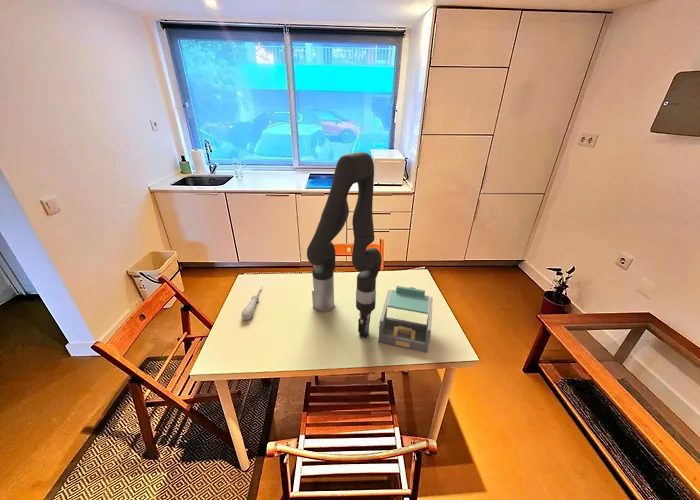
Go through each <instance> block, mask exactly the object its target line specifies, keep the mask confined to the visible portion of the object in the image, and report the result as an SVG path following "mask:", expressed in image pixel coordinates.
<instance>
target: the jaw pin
mask: <svg viewBox="0 0 700 500" xmlns="http://www.w3.org/2000/svg"><path fill="white" fill-rule="evenodd" d="M369 320H370V321H371V317H370V318H369ZM369 320H368V325H366V336H365V337H360V332H358V336H359V337H360V338H362V339H367V338H369V336H370V323H369ZM366 322H367V320H366Z"/></svg>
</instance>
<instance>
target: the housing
mask: <svg viewBox="0 0 700 500" xmlns="http://www.w3.org/2000/svg"><path fill="white" fill-rule="evenodd" d="M391 290H392V289H391ZM391 290H390V289H387V293H386V297H385V301H384V304H383V307H382V311H381V315H380V319H379V327H378V330H379V332H378V341H377V343H380V344H384V345H389V346H395V347H398V348H403V349H408V350H413V351H418V352H422V353H428V349H429V343H430V338H431V333H432V325H433V324H432V320H433V299H434V298H433V296H429V308H428V314H427V320H426V324H424V323H419V322H413V321H410V320H409V321H408V320H404V319H397V318H393V317H387V312H388V302H389V298H390V294H391Z"/></svg>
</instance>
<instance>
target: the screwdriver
mask: <svg viewBox="0 0 700 500" xmlns="http://www.w3.org/2000/svg"><path fill="white" fill-rule="evenodd" d="M262 288H263V286H260V288H259V290H258V292H257V294H256V295H252V296H251V298H250V301H249V302H248V304H247V305H246V306H245V307H244V308H243V310H242V311H241V319H242V320H244V321H249V319H252V317H253V315H254V313H255V308H256V306H257V304H258V302H259V301H260V298H259V294H260V293H261V290H262Z"/></svg>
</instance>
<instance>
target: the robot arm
mask: <svg viewBox="0 0 700 500" xmlns="http://www.w3.org/2000/svg"><path fill="white" fill-rule="evenodd" d="M373 160H374V159H373V158H372V156H371V155H370V154H369V153H368V152H365V151H360V152H358V151H357V152H350V153H345V154H343V155H341V156H340V157H339V158H338V160H337V161H336V162H337V163H336V166H335V169H334V174H333V179H332V183H331V186H330V190H329V193H328V195H327V196H328V197H327V200H326V202H325V205H324V208H323V209H322V212H321V216H320V220H319V222H318V225H317V227H316V229H315V231H314V232H315V233H314V235H313V237H312V239H311V241H310V242H309V244H308V246H307V249H306V257H307V260H308V262H309V263H310V264H311V265H313V266H314V267H313V268H312V270H311V271H312V273H311V274H312V285H313V286H312V287H313V289H312V290H311V298H312V308H314V309H315V310H316V311H318V312H321V313H323V312H329V311H331V310H333V309H334V308H335V282H334V281H335V280H334V276H335V275H334V273H335V270H336V257H337V256H336V248H335V245H334V244H333V242H332V241H333V240H334V239H335V238H336V237H337V236H338V235H339V234H340V232H341V231H342V230H343V228H344V226H345V224H346V223H347V220H348V218H349V214H350V208H349V203H348V200H347V199H348V195H349V192H350V190H351V187H353V185H354V184H357V189H358V194H357V199H356V204H355V207H354V211H353V215H352V230H353V239H354V240H353V247H352V253H351V262H352V263H351V264H352V266H353V268H354V269H355V271H357V272H359V273H358V274H357V277H356V289H355V290H356V291H355V306H356V307H355V308H356V309H357V310H358V311H359V318H358V325H357V326H358V327H357V328H358V329H357V332H358V333H359V332H360V336H359V337H360V338H361V337H365V336H366V325H368V320H369V318H370V320H369V324H370V323H371V315H372V312H373V311H374V310H375V308H376V305H377V304H376V303H377V292H376V291H377V290H376V288H377V277H378V274H379V272H380V269H381V266H382V263H383V262H382V253H381V252H380V251H379V249H378V248H376V247H369V248H368V246H370V245H371V244H372V243H374V241H375V230H374V229H375V228H374V219H373V218H374V215H373V200H374V199H373V198H374V182H375V164H374V163H375V162H374V161H373ZM366 320H367V322H366Z"/></svg>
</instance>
